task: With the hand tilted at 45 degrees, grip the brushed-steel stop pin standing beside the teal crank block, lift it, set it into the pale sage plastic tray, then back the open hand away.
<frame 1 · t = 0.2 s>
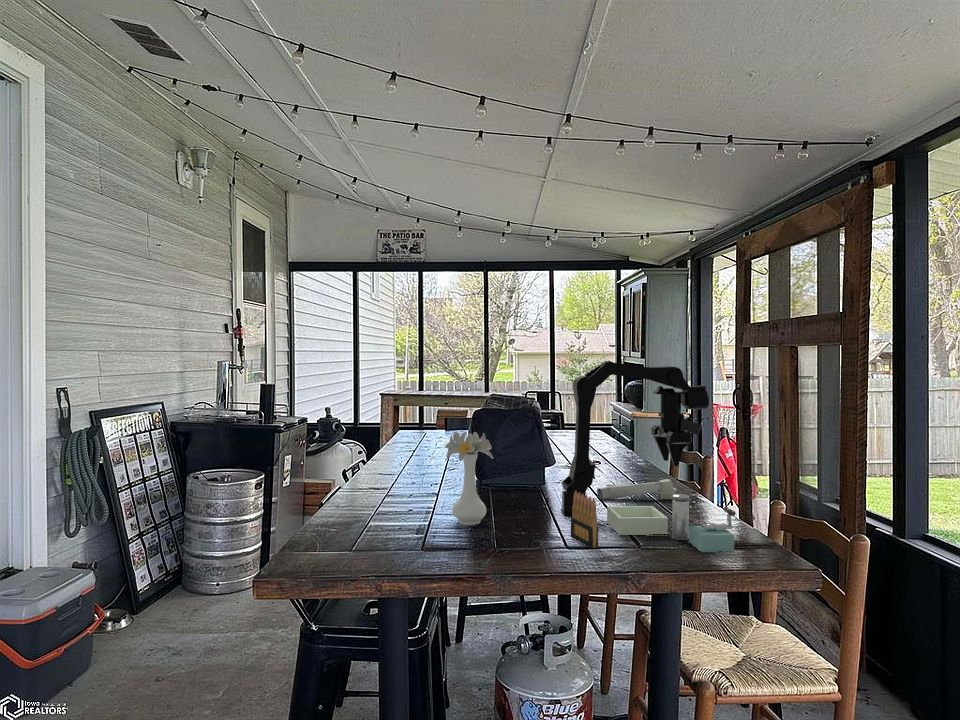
hand: (670, 463, 197), 15 cm above the table, tool pointing down, fingers open, 9 cm apart
grey mallet: (637, 500, 216), on the table
ammunition clip: (584, 543, 168), on the table
tray: (636, 528, 180), on the table
stop pin: (680, 538, 171), on the table
crank block: (710, 546, 165), on the table
flower vase: (467, 522, 186), on the table
crank handle: (717, 519, 165), point 7 cm above the table, hinge at 0.0°
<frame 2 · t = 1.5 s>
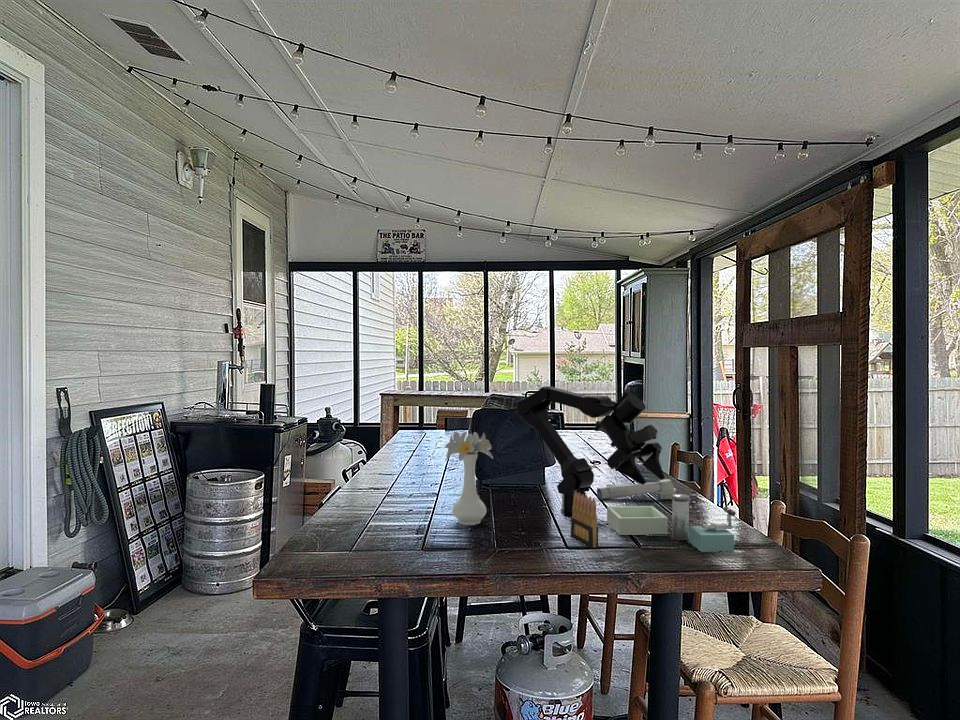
hand: (654, 481, 177), 13 cm above the table, tool tilted 45°, fingers open, 9 cm apart
nothing on the table moved.
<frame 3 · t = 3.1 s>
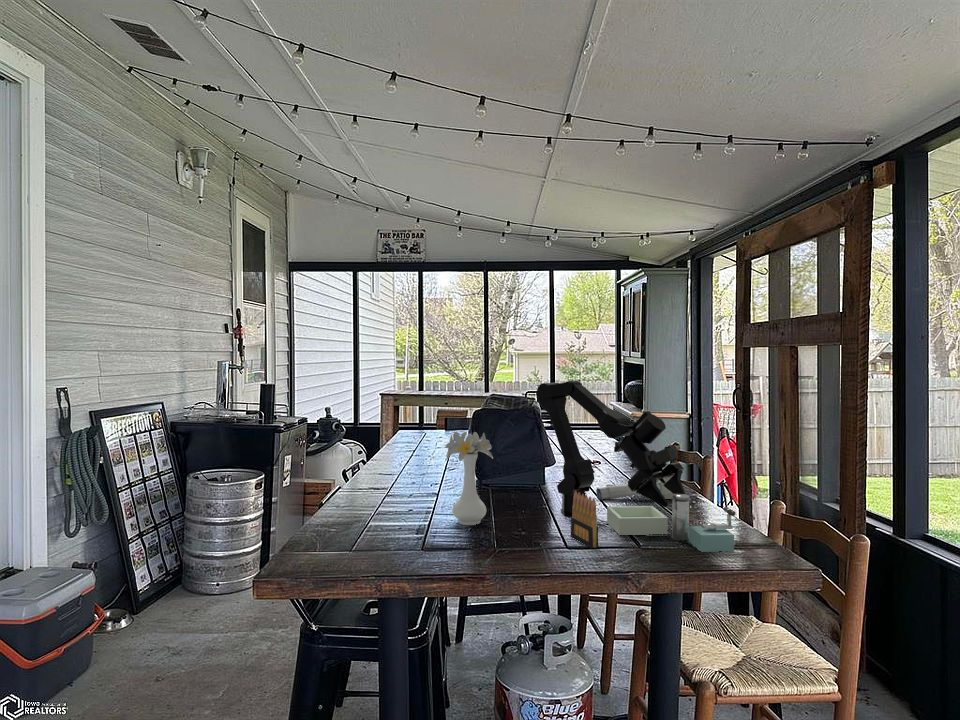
hand: (676, 503, 172), 9 cm above the table, tool tilted 45°, fingers open, 9 cm apart
nothing on the table moved.
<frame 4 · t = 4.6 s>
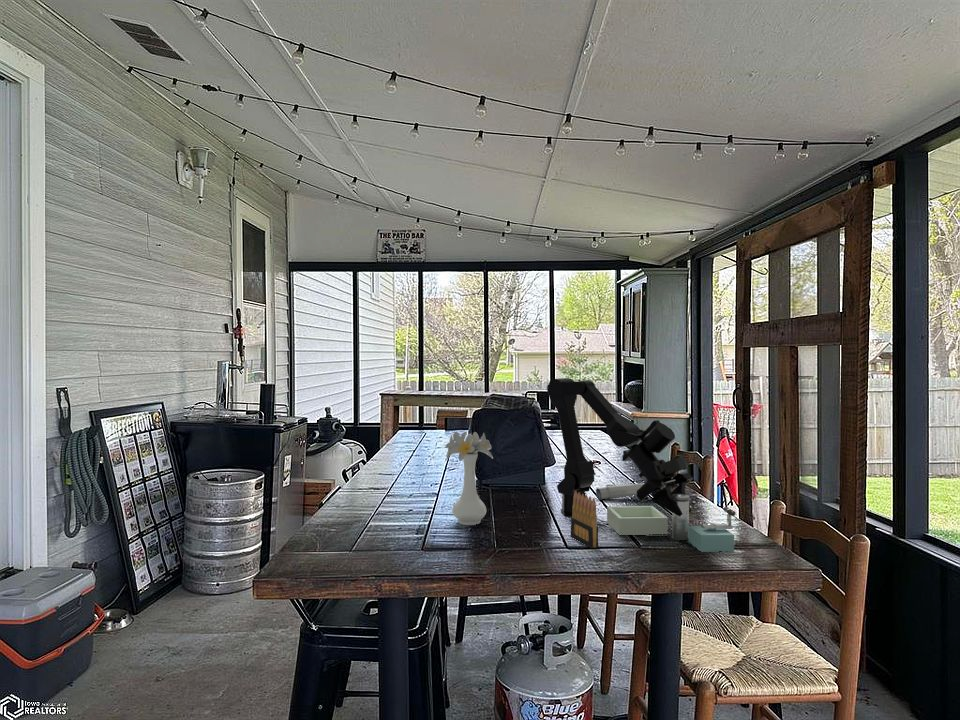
hand: (685, 513, 170), 7 cm above the table, tool tilted 45°, fingers closed on stop pin, 4 cm apart
stop pin: (680, 538, 171), on the table, touching gripper
everything else where it was.
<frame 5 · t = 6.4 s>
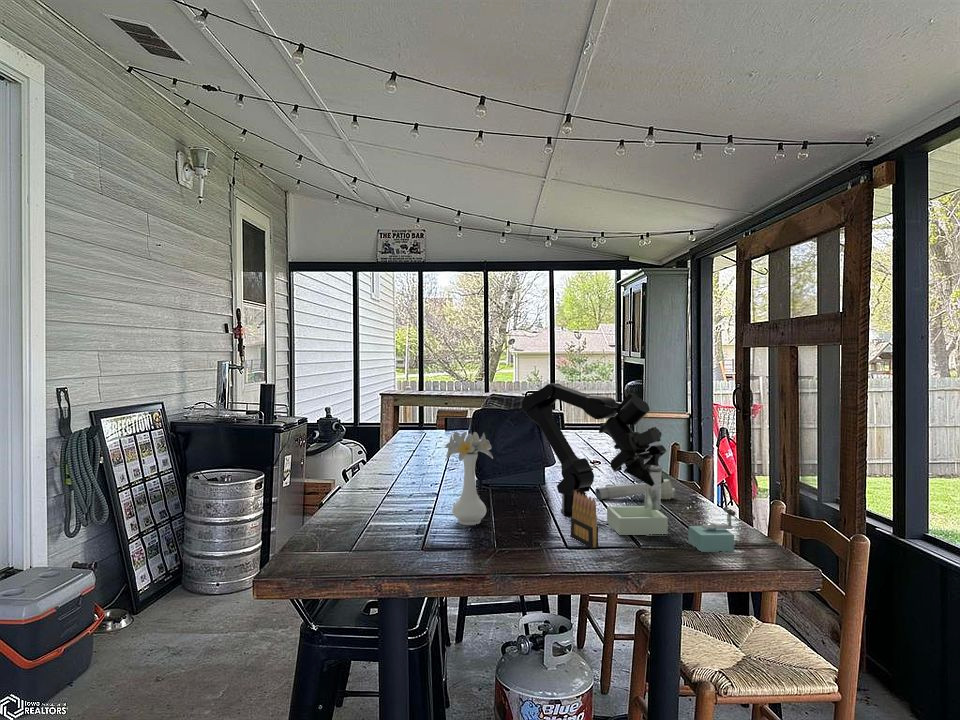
hand: (657, 484, 176), 13 cm above the table, tool tilted 45°, fingers closed on stop pin, 4 cm apart
stop pin: (652, 508, 177), point 6 cm above the table, touching gripper
everything else where it was.
when the fingers open (9 cm above the table, at t = 8.2 s): stop pin drops 1 cm, resting on tray.
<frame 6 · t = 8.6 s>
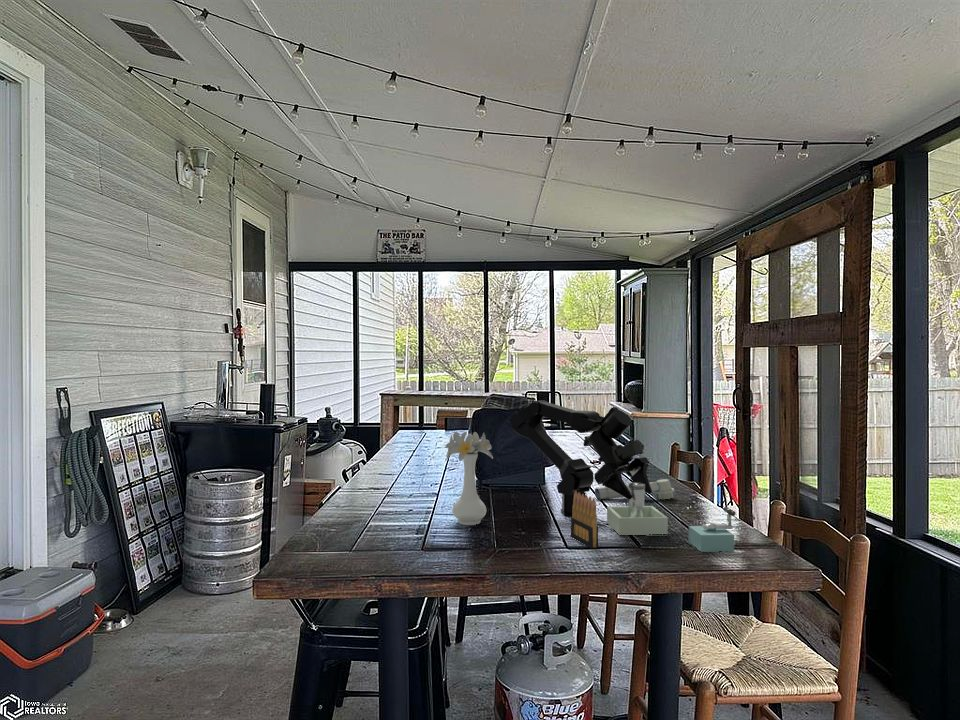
hand: (641, 495, 179), 9 cm above the table, tool tilted 45°, fingers open, 9 cm apart
stop pin: (636, 524, 180), point 1 cm above the table, touching tray
everything else where it was.
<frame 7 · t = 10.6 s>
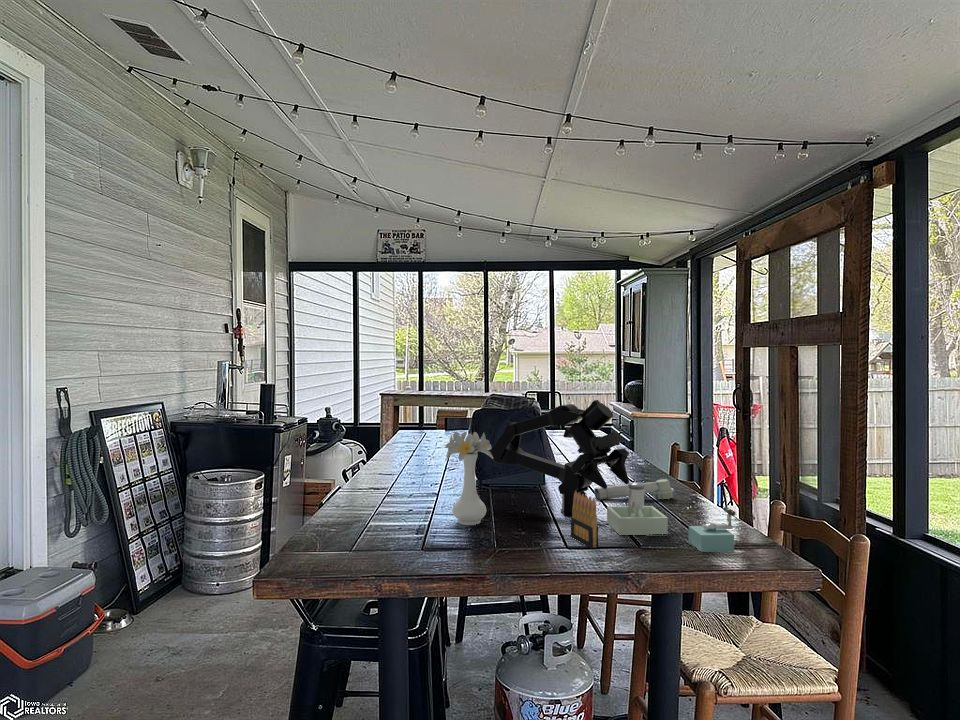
hand: (617, 485, 185), 11 cm above the table, tool tilted 45°, fingers open, 9 cm apart
nothing on the table moved.
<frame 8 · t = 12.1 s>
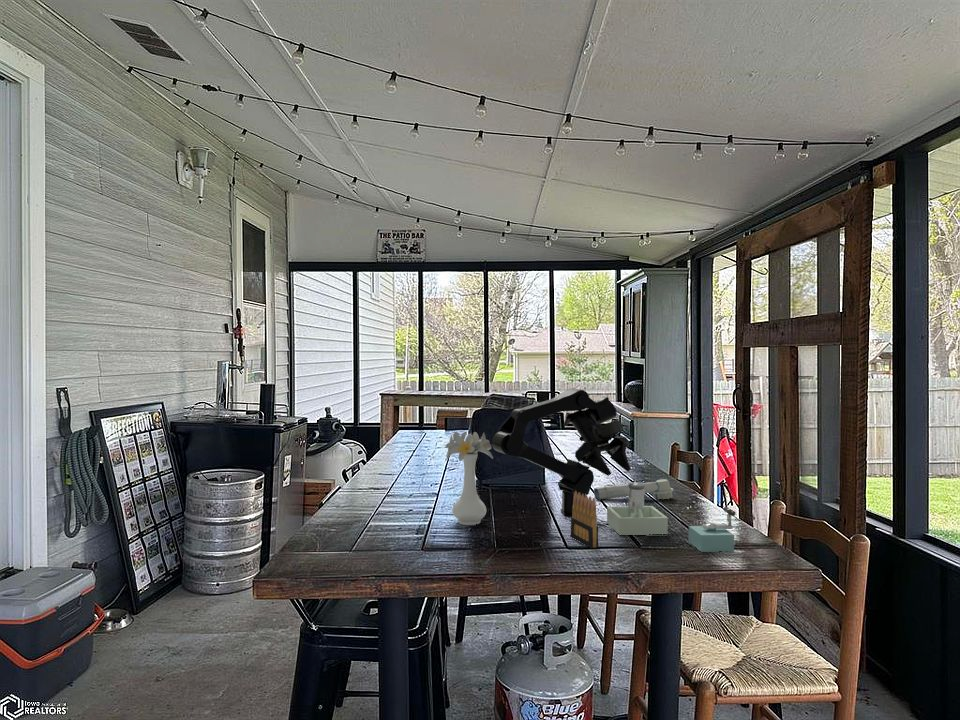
hand: (619, 472, 187), 14 cm above the table, tool tilted 45°, fingers open, 9 cm apart
at the end: stop pin inside the target area on the tray (0.1 cm from its centre), point 1.0 cm above the tray's base; the gripper is holding nothing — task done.
